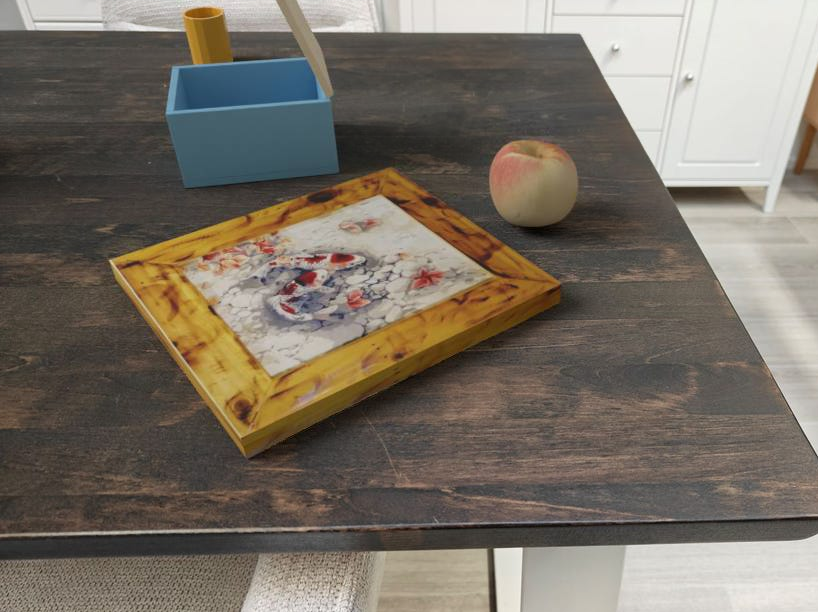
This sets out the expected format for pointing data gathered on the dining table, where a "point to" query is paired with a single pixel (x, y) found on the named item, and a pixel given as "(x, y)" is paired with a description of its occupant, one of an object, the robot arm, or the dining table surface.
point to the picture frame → (326, 301)
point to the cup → (207, 35)
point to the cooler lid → (306, 42)
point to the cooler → (250, 122)
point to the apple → (533, 183)
